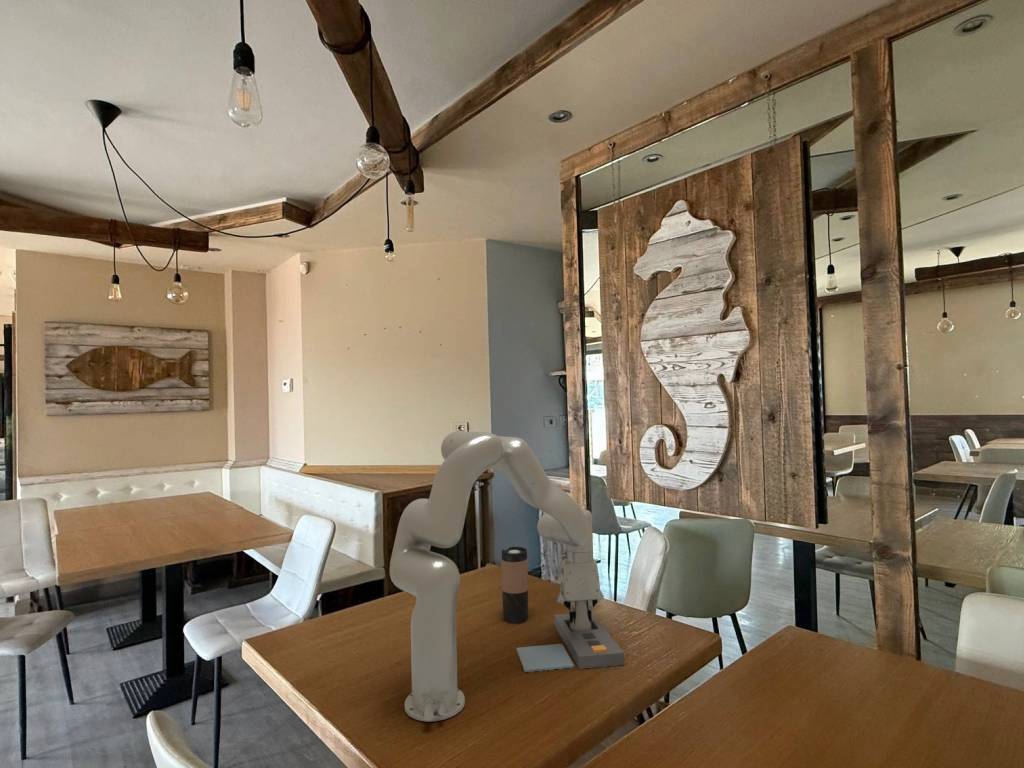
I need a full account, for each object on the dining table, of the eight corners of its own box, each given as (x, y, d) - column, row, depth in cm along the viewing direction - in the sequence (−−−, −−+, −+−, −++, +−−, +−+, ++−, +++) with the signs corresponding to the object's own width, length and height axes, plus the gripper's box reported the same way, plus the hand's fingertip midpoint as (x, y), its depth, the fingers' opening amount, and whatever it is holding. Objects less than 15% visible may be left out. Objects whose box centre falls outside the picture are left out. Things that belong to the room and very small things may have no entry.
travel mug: (528, 624, 158) (527, 553, 159) (502, 624, 159) (500, 553, 159) (528, 613, 166) (527, 546, 167) (503, 613, 166) (501, 546, 167)
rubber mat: (574, 668, 132) (574, 665, 132) (524, 672, 130) (524, 670, 130) (562, 646, 144) (562, 643, 144) (516, 650, 142) (516, 647, 142)
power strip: (623, 665, 133) (623, 649, 133) (579, 669, 131) (579, 653, 131) (592, 622, 159) (591, 608, 159) (554, 625, 157) (554, 612, 157)
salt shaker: (590, 641, 146) (589, 591, 147) (569, 639, 148) (568, 590, 148) (592, 632, 152) (591, 584, 152) (571, 630, 153) (570, 583, 154)
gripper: (552, 561, 145) (554, 632, 145) (612, 557, 148) (614, 627, 147) (546, 553, 153) (548, 621, 152) (603, 550, 155) (605, 616, 155)
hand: (580, 623), depth 150 cm, fingers closed on salt shaker, 3 cm apart
